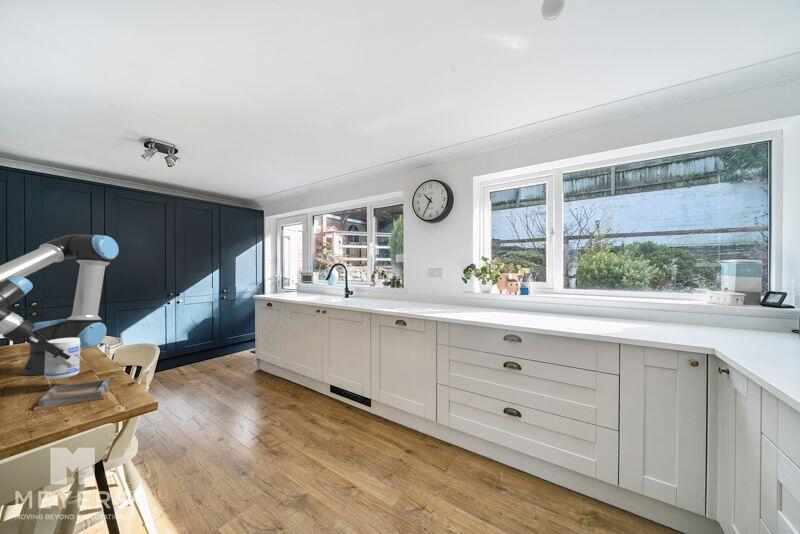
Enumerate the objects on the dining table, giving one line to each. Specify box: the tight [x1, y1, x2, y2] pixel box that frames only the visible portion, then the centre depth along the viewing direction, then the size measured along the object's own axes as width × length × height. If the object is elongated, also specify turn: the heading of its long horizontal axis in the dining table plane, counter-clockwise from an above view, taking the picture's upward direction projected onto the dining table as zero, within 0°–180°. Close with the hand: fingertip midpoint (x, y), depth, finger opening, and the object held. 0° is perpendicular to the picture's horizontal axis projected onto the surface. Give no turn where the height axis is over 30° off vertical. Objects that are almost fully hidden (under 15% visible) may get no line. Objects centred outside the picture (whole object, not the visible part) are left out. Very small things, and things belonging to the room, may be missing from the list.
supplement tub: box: [43, 338, 81, 381], centre depth 122 cm, size 10×10×15 cm
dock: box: [32, 378, 112, 412], centre depth 114 cm, size 17×17×3 cm
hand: (73, 359), depth 124 cm, fingers closed on supplement tub, 10 cm apart
